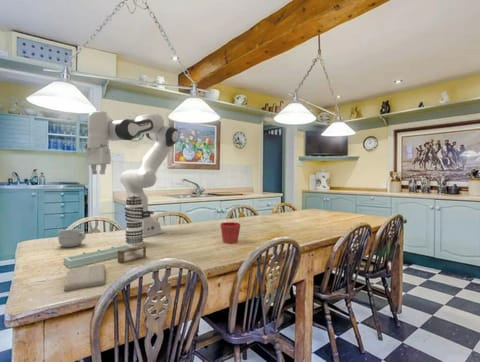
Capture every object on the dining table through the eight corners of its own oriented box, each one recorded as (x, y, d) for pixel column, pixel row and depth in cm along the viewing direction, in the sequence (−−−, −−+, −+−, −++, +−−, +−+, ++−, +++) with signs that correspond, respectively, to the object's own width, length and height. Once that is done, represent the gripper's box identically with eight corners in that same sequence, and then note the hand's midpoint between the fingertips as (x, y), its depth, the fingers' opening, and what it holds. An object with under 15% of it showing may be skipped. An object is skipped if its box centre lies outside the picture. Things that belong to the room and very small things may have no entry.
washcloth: (104, 269, 107) (104, 261, 106) (106, 286, 91) (106, 277, 91) (68, 274, 101) (68, 266, 101) (63, 293, 85) (63, 283, 85)
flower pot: (241, 239, 153) (241, 222, 152) (239, 244, 142) (239, 225, 142) (222, 239, 154) (222, 221, 153) (218, 244, 143) (218, 225, 143)
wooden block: (142, 256, 122) (142, 245, 122) (146, 257, 120) (146, 246, 120) (117, 262, 114) (117, 250, 114) (121, 264, 112) (121, 252, 112)
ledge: (127, 249, 132) (127, 243, 132) (136, 253, 127) (136, 246, 127) (63, 263, 112) (63, 256, 112) (70, 268, 106) (70, 260, 106)
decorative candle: (131, 246, 137) (130, 196, 137) (121, 243, 143) (120, 195, 142) (147, 243, 145) (146, 195, 144) (137, 240, 150) (136, 194, 150)
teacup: (53, 247, 137) (53, 231, 137) (75, 242, 147) (75, 227, 146) (70, 250, 130) (70, 234, 130) (92, 245, 140) (91, 229, 140)
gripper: (114, 144, 126) (114, 174, 126) (97, 147, 140) (97, 174, 140) (99, 142, 121) (100, 174, 122) (83, 146, 135) (83, 174, 135)
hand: (98, 174), depth 131 cm, fingers open, 8 cm apart
